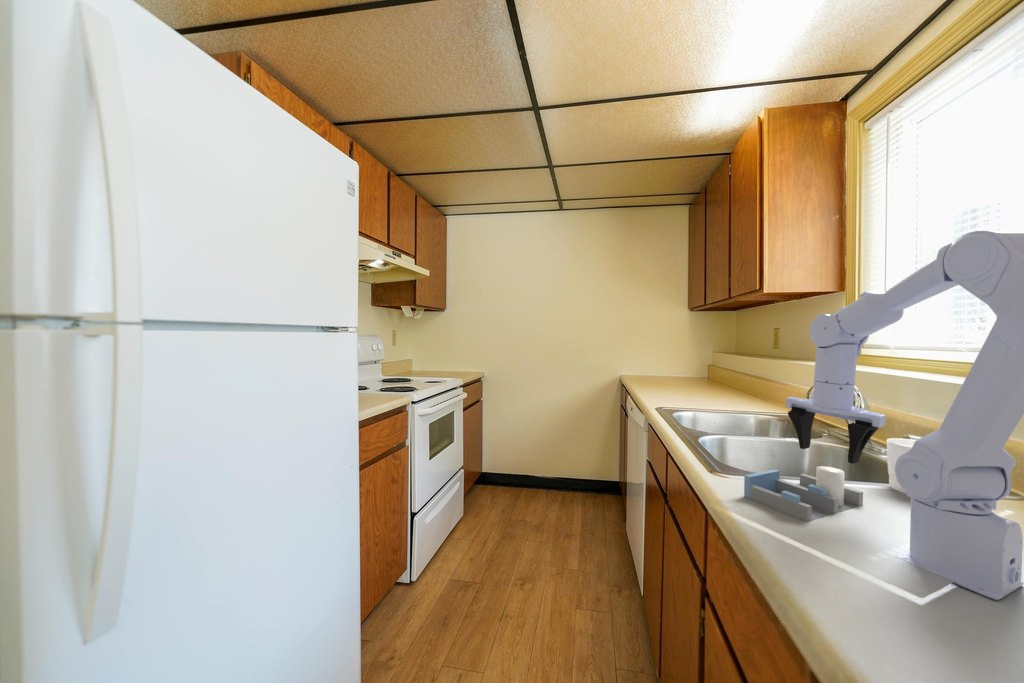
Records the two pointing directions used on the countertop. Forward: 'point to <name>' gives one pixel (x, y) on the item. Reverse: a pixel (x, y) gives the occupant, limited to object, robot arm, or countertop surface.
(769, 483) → the grey and blue rack
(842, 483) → the white rounded cylinder
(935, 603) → the countertop surface
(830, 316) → the robot arm
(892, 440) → the white cup
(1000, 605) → the countertop surface
